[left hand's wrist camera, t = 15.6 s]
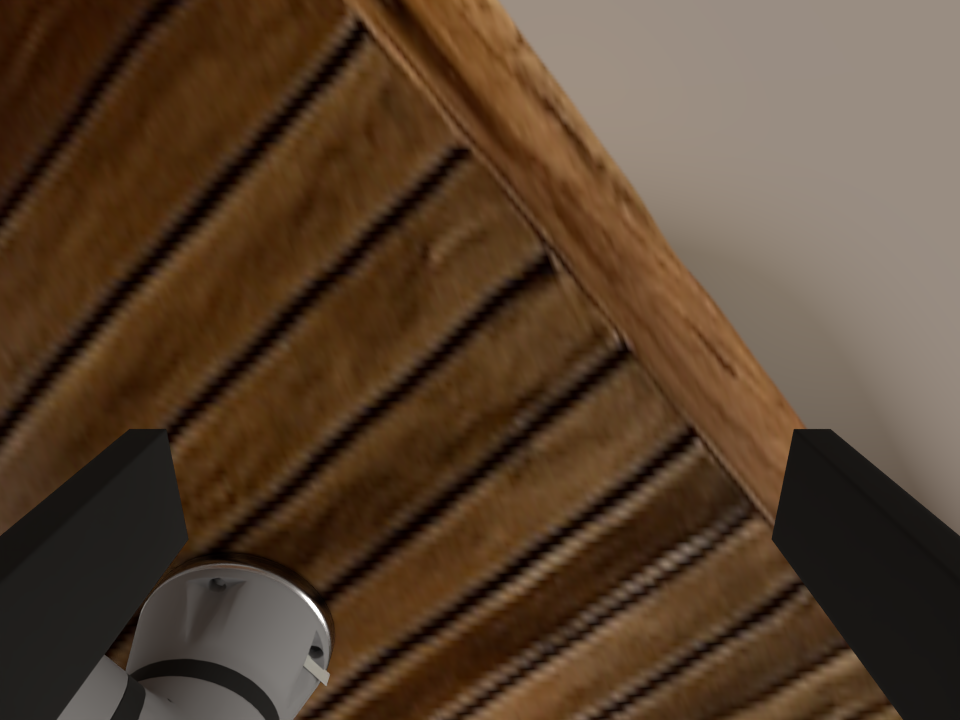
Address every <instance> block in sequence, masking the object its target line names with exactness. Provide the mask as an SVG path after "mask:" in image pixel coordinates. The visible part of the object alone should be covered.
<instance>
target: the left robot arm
mask: <svg viewBox="0 0 960 720" xmlns="http://www.w3.org/2000/svg"><path fill="white" fill-rule="evenodd" d="M187 540H188V535H187V530H186V525H185V520H184V515H183V510H182V505H181V500H180V495H179V490H178V485H177V481H176V476H175V471H174V466H173V461H172V456H171V451H170V446H169V441H168V436H167V431H166V429H129V430H128V431H127V432H125V433H124V434H123V435H122V436H121V437H119V438H118V439H117V440H116V441H115V442H113V443H112V444H111V445H110V446H109V447H107V448H106V449H105V450H104V451H102V452H101V453H100V454H99V455H98V456H96V457H95V458H94V459H93V460H92V461H90V462H89V463H88V464H87V465H86V466H84V467H83V468H82V469H81V470H80V471H78V472H77V473H76V474H75V475H73V476H72V477H71V478H70V479H69V480H67V481H66V482H65V483H64V484H63V485H61V486H60V487H59V488H58V489H57V490H55V491H54V492H53V493H52V494H50V495H49V496H48V497H47V498H46V499H44V500H43V501H42V502H41V503H40V504H38V505H37V506H36V507H35V508H34V509H32V510H31V511H30V512H29V513H28V514H26V515H25V516H24V517H23V518H21V519H20V520H19V521H18V522H17V523H15V524H14V525H13V526H12V527H11V528H9V529H8V530H7V531H6V532H5V533H3V534H2V535H1V536H0V720H293V719H294V718H295V716H296V715H297V714H298V712H299V711H300V709H301V708H302V707H303V705H304V704H305V703H306V701H307V700H308V699H309V697H310V696H311V695H312V693H313V692H314V690H315V689H316V688H317V686H318V685H319V684H320V682H322V683H323V684H325V685H326V686H327V682H328V679H329V675H330V674H329V673H328V672H327V671H326V670H327V667H328V664H329V661H330V657H331V654H332V651H333V646H334V639H335V631H334V624H333V619H332V616H331V613H330V611H329V609H328V607H327V605H326V603H325V601H324V600H323V598H322V597H321V596H320V594H319V593H318V592H317V591H316V590H315V589H314V587H313V586H312V585H310V584H309V583H308V582H307V581H306V580H305V579H304V578H302V577H301V576H300V575H298V574H297V573H295V572H294V571H292V570H290V569H289V568H287V567H285V566H283V565H281V564H278V563H276V562H274V561H271V560H268V559H265V558H261V557H258V556H253V555H248V554H239V553H219V554H211V555H206V556H202V557H198V558H195V559H192V560H190V561H187V562H185V563H183V564H181V565H180V566H178V567H176V568H175V569H174V570H172V571H171V572H170V573H169V574H167V575H166V576H165V577H164V578H163V580H162V581H161V582H160V583H159V585H158V586H157V587H156V589H155V590H154V591H153V593H152V594H151V596H150V597H149V598H148V600H147V601H146V603H145V605H144V607H143V609H142V611H141V614H140V617H139V621H138V624H137V628H136V632H135V636H134V640H133V644H132V648H131V652H130V655H129V659H128V663H127V667H126V671H124V670H123V669H122V668H120V667H119V666H118V665H117V664H115V663H114V662H113V661H112V660H110V659H109V658H108V657H107V656H105V655H104V654H105V653H106V652H107V650H108V649H109V647H110V646H111V645H112V643H113V642H114V641H115V639H116V638H117V636H118V635H119V634H120V632H121V631H122V630H123V628H124V627H125V625H126V624H127V623H128V621H129V620H130V619H131V617H132V616H133V614H134V613H135V612H136V610H137V609H138V608H139V606H140V605H141V603H142V602H143V601H144V599H145V598H146V597H147V595H148V594H149V593H150V591H151V590H152V588H153V587H154V586H155V584H156V583H157V582H158V580H159V579H160V577H161V576H162V575H163V573H164V572H165V571H166V569H167V568H168V566H169V565H170V564H171V562H172V561H173V560H174V558H175V557H176V555H177V554H178V553H179V551H180V550H181V549H182V547H183V546H184V545H185V543H186V542H187ZM772 540H773V542H774V543H775V545H776V546H777V547H778V549H779V550H780V551H781V553H782V554H783V555H784V557H785V558H786V560H787V561H788V562H789V564H790V565H791V566H792V568H793V569H794V571H795V572H796V573H797V575H798V576H799V577H800V579H801V580H802V582H803V583H804V584H805V586H806V587H807V588H808V590H809V591H810V593H811V594H812V595H813V597H814V598H815V599H816V601H817V602H818V603H819V605H820V606H821V608H822V609H823V610H824V612H825V613H826V614H827V616H828V617H829V619H830V620H831V621H832V623H833V624H834V625H835V627H836V628H837V630H838V631H839V632H840V634H841V635H842V636H843V638H844V639H845V641H846V642H847V643H848V645H849V646H850V647H851V649H852V650H853V652H854V653H855V654H856V656H857V657H858V658H859V660H860V661H861V662H862V664H863V665H864V667H865V668H866V669H867V671H868V672H869V673H870V675H871V676H872V678H873V679H874V680H875V682H876V683H877V684H878V686H879V687H880V689H881V690H882V691H883V693H884V694H885V695H886V697H887V698H888V700H889V701H890V702H891V704H892V705H893V706H894V708H895V709H896V710H897V712H898V713H899V715H900V716H901V717H902V719H903V720H960V536H959V535H958V534H957V533H955V532H954V531H953V530H952V529H951V528H949V527H948V526H947V525H946V524H945V523H943V522H942V521H941V520H940V519H938V518H937V517H936V516H935V515H934V514H932V513H931V512H930V511H929V510H928V509H926V508H925V507H924V506H923V505H922V504H920V503H919V502H918V501H917V500H915V499H914V498H913V497H912V496H911V495H909V494H908V493H907V492H906V491H905V490H903V489H902V488H901V487H900V486H899V485H897V484H896V483H895V482H894V481H893V480H891V479H890V478H889V477H888V476H887V475H885V474H884V473H883V472H882V471H880V470H879V469H878V468H877V467H876V466H874V465H873V464H872V463H871V462H870V461H868V460H867V459H866V458H865V457H864V456H862V455H861V454H860V453H859V452H858V451H856V450H855V449H854V448H853V447H851V446H850V445H849V444H848V443H847V442H845V441H844V440H843V439H842V438H841V437H839V436H838V435H837V434H836V433H835V432H833V431H832V430H831V429H794V431H793V436H792V441H791V446H790V451H789V456H788V461H787V466H786V471H785V476H784V481H783V485H782V490H781V495H780V500H779V505H778V510H777V515H776V520H775V525H774V530H773V535H772Z"/></svg>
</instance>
